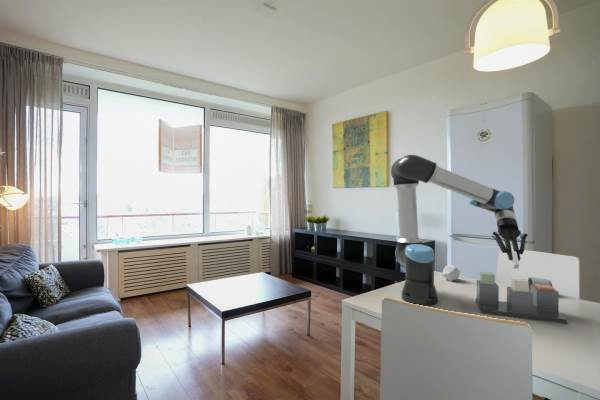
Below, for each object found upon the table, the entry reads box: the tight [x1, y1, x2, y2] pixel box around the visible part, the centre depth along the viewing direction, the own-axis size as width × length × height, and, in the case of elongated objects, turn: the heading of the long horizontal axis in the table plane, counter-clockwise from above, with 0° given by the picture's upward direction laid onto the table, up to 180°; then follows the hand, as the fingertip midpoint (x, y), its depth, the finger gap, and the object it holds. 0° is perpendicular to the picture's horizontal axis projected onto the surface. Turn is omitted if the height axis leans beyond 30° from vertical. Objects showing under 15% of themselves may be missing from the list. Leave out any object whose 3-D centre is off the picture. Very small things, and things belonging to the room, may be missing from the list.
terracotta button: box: [535, 284, 555, 291], centre depth 114 cm, size 4×4×8 cm
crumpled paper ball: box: [442, 264, 461, 282], centre depth 160 cm, size 8×9×10 cm
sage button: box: [479, 271, 496, 285], centre depth 121 cm, size 4×4×8 cm
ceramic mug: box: [527, 276, 554, 291], centre depth 139 cm, size 10×8×7 cm
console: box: [475, 279, 568, 325], centre depth 115 cm, size 26×13×10 cm, turn 68°
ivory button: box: [510, 276, 529, 292], centre depth 112 cm, size 4×4×8 cm
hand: (516, 266), depth 118 cm, fingers closed
